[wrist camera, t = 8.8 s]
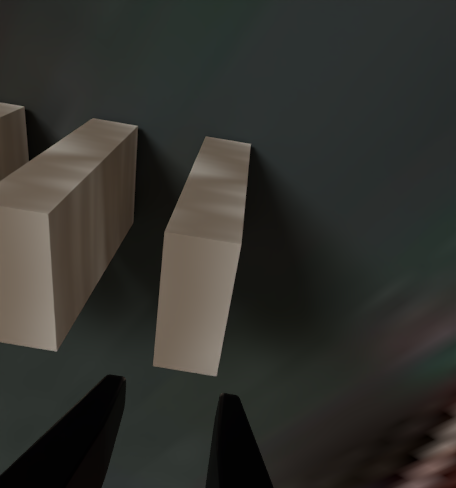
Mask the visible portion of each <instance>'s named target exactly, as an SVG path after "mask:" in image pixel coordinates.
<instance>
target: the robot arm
mask: <svg viewBox="0 0 456 488" xmlns="http://www.w3.org/2000/svg"><path fill="white" fill-rule="evenodd" d="M125 394H126V379H125V377H123V376H117V375H107V376H105V377H104V378H103V379H102V380H101V381H100V382H99V383H98V384H97V385H96V386H95V387H93V388H92V389H91V390H90V391H89V392H88V393H87V394H86V395H85V396H84V397H83V398H82V399H81V400H80V401H79V402H78V403H77V404H75V405H74V406H73V407H72V408H71V409H70V410H69V411H68V412H67V413H66V414H65V415H64V416H63V417H62V418H61V419H60V420H58V421H57V422H56V423H55V424H54V425H53V426H52V427H51V428H50V429H49V430H48V431H47V432H46V433H45V434H44V435H43V436H42V437H40V438H39V439H38V440H37V441H36V442H35V443H34V444H33V445H32V446H31V447H30V448H29V449H28V450H27V451H26V452H25V453H23V454H22V455H21V456H20V457H19V458H18V459H17V460H16V461H15V462H14V463H13V464H12V465H11V466H10V467H9V468H8V469H7V470H5V471H4V472H3V473H2V474H1V475H0V488H101V487H102V485H103V482H104V479H105V476H106V473H107V469H108V466H109V462H110V458H111V455H112V451H113V448H114V444H115V440H116V437H117V433H118V429H119V426H120V422H121V418H122V415H123V411H124V406H125ZM206 488H273V485H272V482H271V480H270V477H269V474H268V472H267V469H266V466H265V464H264V461H263V459H262V456H261V453H260V451H259V448H258V445H257V443H256V440H255V438H254V435H253V432H252V430H251V427H250V424H249V422H248V419H247V416H246V414H245V411H244V409H243V406H242V403H241V401H240V398H239V397H238V396H237V395H233V394H227V393H222V394H221V395H220V397H219V401H218V406H217V411H216V416H215V422H214V428H213V436H212V443H211V450H210V458H209V465H208V472H207V480H206Z"/></svg>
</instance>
